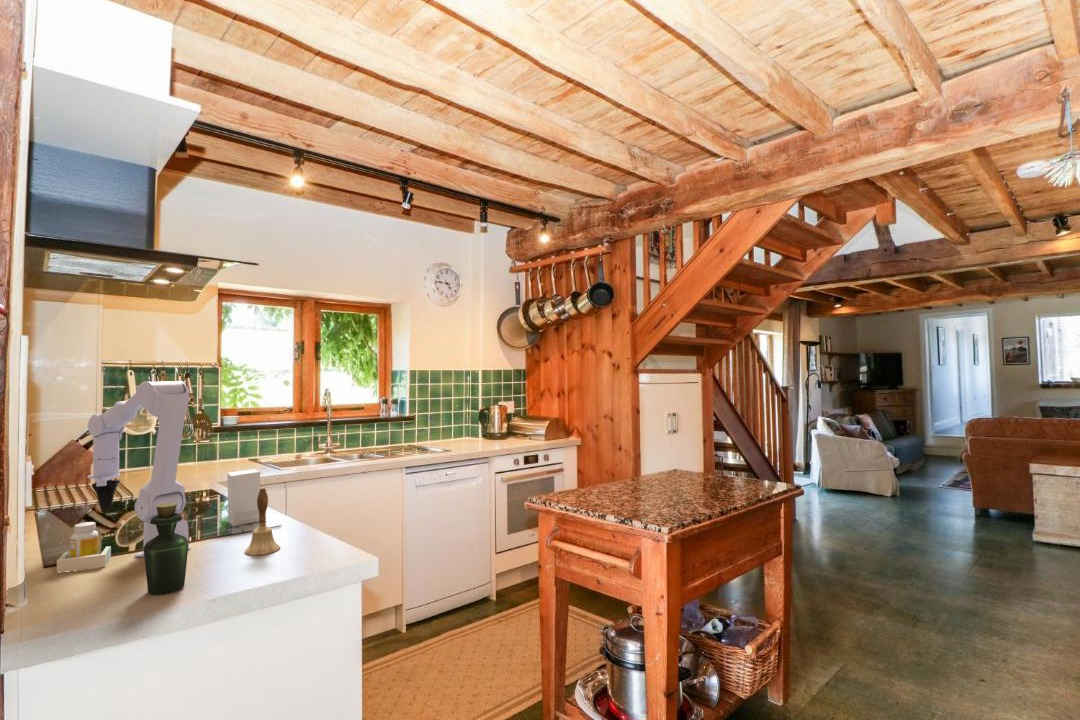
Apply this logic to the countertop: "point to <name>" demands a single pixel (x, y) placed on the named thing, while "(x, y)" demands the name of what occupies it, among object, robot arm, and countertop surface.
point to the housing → (83, 561)
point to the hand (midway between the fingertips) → (106, 508)
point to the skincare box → (243, 497)
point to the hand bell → (262, 530)
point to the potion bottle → (166, 553)
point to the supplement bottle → (84, 540)
